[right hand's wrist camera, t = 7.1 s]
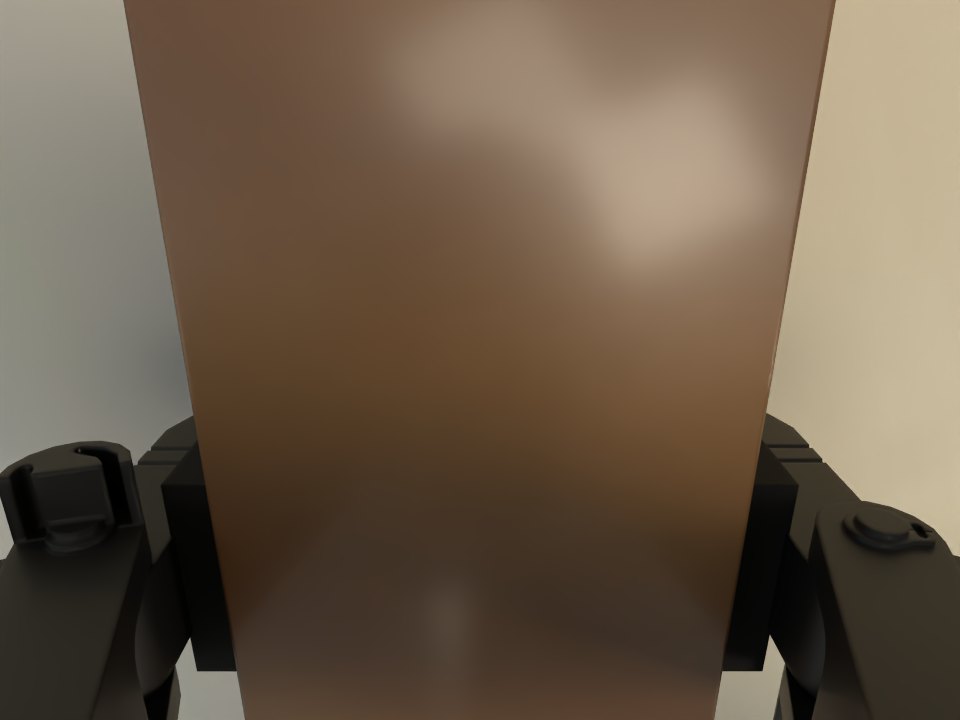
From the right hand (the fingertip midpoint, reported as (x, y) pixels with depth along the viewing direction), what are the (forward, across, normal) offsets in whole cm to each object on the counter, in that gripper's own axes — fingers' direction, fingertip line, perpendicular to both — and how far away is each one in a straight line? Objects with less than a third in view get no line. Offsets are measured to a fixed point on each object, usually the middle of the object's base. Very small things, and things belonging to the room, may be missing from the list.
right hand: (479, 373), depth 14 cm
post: (+1, 0, -30) cm, 30 cm away
